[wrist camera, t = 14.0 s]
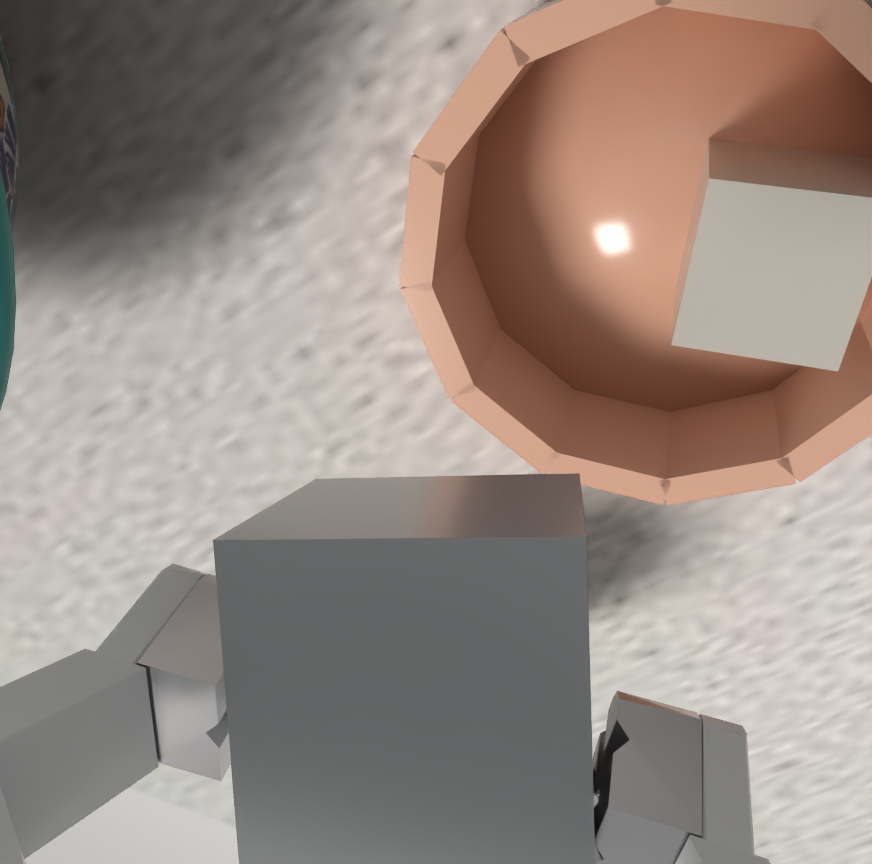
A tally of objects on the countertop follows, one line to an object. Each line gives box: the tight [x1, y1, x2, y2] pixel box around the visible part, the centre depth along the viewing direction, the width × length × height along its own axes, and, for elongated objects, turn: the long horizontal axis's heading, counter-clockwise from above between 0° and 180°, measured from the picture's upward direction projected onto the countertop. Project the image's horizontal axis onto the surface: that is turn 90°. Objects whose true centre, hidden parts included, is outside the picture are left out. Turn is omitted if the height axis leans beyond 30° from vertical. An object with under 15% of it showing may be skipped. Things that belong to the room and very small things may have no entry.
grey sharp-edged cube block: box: [213, 473, 595, 864], centre depth 10 cm, size 4×4×4 cm
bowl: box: [400, 0, 872, 505], centre depth 20 cm, size 12×12×4 cm
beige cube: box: [671, 139, 872, 371], centre depth 19 cm, size 4×4×4 cm
